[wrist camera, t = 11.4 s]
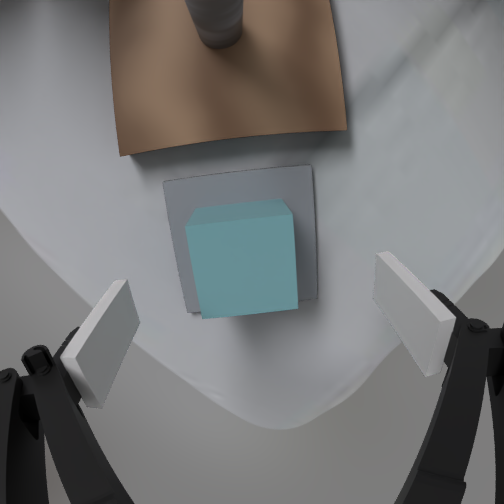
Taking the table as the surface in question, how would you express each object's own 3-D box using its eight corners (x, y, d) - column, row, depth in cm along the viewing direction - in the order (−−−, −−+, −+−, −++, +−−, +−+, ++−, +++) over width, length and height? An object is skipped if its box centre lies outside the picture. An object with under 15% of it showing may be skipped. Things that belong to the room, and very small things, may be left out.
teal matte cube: (281, 198, 23) (292, 214, 19) (288, 288, 26) (298, 321, 21) (195, 208, 23) (184, 226, 19) (210, 297, 26) (204, 331, 21)
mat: (309, 164, 23) (311, 165, 23) (315, 295, 27) (317, 298, 26) (164, 181, 23) (162, 182, 23) (188, 309, 27) (187, 312, 26)
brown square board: (311, -43, 17) (344, -110, 7) (338, 130, 22) (400, 128, 13) (118, -20, 17) (68, -75, 7) (129, 155, 22) (63, 168, 13)
